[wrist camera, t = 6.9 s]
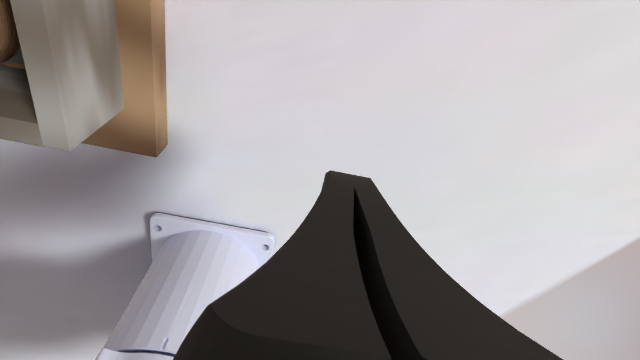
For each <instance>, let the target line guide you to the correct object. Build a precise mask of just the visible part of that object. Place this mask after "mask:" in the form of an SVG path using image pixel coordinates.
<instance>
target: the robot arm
mask: <svg viewBox="0 0 640 360" xmlns="http://www.w3.org/2000/svg"><path fill="white" fill-rule="evenodd" d="M157 225H158V226H160V227H161V228H160V227H158V226H157ZM150 237H151V254H152V264H151V265H150V267H149V269H148V271H147V272H146V274H145V276H144V278H143V279H142V281H141V283H140V285H139V286H138V288H137V290H136V292H135V293H134V295H133V297H132V299H131V300H130V302H129V304H128V306H127V307H126V309H125V311H124V313H123V314H122V316H121V318H120V320H119V321H118V323H117V325H116V327H115V328H114V330H113V332H112V334H111V335H110V337H109V339H108V341H107V342H106V344H105V346H104V347H103V349H101V351H100V353H99V354H98V356H97V357H96V359H95V360H563V359H561V358H559V357H558V356H557V355H555V354H553V353H552V352H550V351H549V350H547V349H546V348H544V347H542V346H541V345H540V344H538V343H536V342H535V341H533V340H532V339H530V338H529V337H527V336H526V335H524V334H522V333H521V332H519V331H518V330H517V329H515V328H514V327H512V326H511V325H509V324H508V323H507V322H506V321H504V320H503V319H501V318H500V317H499V316H497V315H496V314H495V313H493V312H492V311H491V310H489V309H488V308H487V307H485V306H484V305H483V304H482V303H480V302H479V301H478V300H477V299H475V298H474V297H473V296H472V295H471V294H469V293H468V292H467V291H466V290H465V289H464V288H463V287H461V286H460V285H459V284H458V283H457V282H456V281H454V280H453V279H452V278H451V277H450V276H449V275H448V274H447V273H446V272H445V271H444V270H443V269H442V268H441V267H440V266H439V265H438V264H437V263H436V262H435V261H434V260H433V259H432V258H431V257H430V256H429V255H428V254H427V253H426V252H425V251H424V250H423V249H422V248H421V246H420V245H419V244H418V243H417V242H416V241H415V239H414V238H413V237H412V236H411V235H410V233H409V232H408V231H407V230H406V228H405V227H404V226H403V225H402V223H401V222H400V221H399V219H398V218H397V217H396V215H395V214H394V212H393V211H392V210H391V208H390V207H389V205H388V204H387V202H386V201H385V199H384V198H383V196H382V195H381V193H380V192H379V190H378V189H377V187H376V186H375V184H374V183H373V181H372V180H371V179H370V178H366V177H361V176H356V175H351V174H346V173H341V172H335V171H329V172H327V173H326V174H325V178H324V182H323V186H322V191H321V193H320V195H319V197H318V199H317V201H316V202H315V204H314V206H313V208H312V209H311V211H310V212H309V214H308V215H307V217H306V218H305V220H304V221H303V222H302V224H301V225H300V226H299V228H298V229H297V230H296V232H295V233H294V234H293V235H292V236H291V237H290V239H289V240H288V241H287V242H286V243H285V244H284V245H283V246H282V247H281V248H280V249H279V250H278V251H277V252H276V253H275V254H274V255H273V256H272V251H273V246H274V241H275V238H274V236H273V235H272V234H270V233H267V232H261V231H256V230H250V229H245V228H239V227H234V226H228V225H222V224H217V223H211V222H206V221H200V220H195V219H189V218H184V217H178V216H173V215H167V214H162V213H155V214H153V215H152V216H151V218H150ZM264 245H268V246H264Z"/></svg>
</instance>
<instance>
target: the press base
mask: <svg viewBox="0 0 640 360" xmlns="http://www.w3.org/2000/svg"><path fill="white" fill-rule="evenodd" d="M10 2H11V7H12V11H13V15H14V20H15V24H16V29H17V33H18V37H19V42H20V46H21V51H22V55H23V59H24V64H16V63H11V62H7V61H6V62H4V63H2V64H0V139H5V140H10V141H15V142H21V143H26V144H31V145H36V146H42V147H47V148H52V149H57V150H63V151H68V152H70V151H71V150H73V149H74V148H75V147H76V146H78V145H79V144H80V143H85V144H90V145H95V146H101V147H106V148H111V149H116V150H121V151H127V152H132V153H137V154H142V155H147V156H153V157H157V156H158V155H159V154H160V152H161V151H162V150H163V149H164V148H165V146H166V145H167V109H166V61H165V13H164V0H10Z"/></svg>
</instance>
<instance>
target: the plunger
mask: <svg viewBox="0 0 640 360" xmlns="http://www.w3.org/2000/svg"><path fill="white" fill-rule="evenodd" d="M6 61H7V62H11V63H16V64H24V59H23V55H22V51H21V46H20V42H19V37H18V33H17V29H16V24H15V20H14V15H13V11H12V7H11V2H10V0H0V64H2V63H4V62H6Z"/></svg>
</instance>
